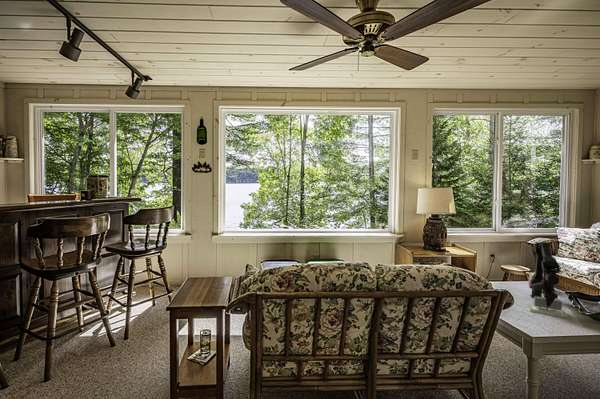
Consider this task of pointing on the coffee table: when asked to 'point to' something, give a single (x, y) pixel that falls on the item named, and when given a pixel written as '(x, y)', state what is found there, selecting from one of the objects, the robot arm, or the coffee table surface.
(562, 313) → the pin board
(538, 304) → the panel
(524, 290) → the coffee table surface
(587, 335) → the coffee table surface
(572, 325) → the coffee table surface
